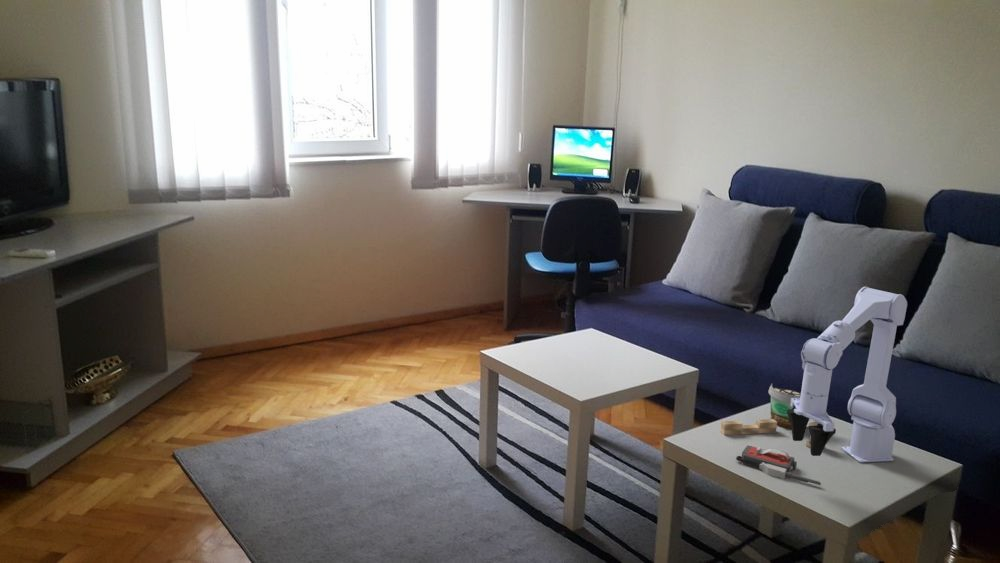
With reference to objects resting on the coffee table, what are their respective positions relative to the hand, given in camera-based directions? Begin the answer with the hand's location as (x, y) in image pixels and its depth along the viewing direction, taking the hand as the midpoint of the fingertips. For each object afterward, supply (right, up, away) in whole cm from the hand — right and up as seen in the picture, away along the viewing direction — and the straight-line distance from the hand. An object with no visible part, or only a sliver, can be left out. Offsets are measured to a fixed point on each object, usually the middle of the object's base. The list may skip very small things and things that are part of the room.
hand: (806, 447), depth 176 cm
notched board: (-3, -2, +31) cm, 31 cm away
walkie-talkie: (-3, -8, +10) cm, 14 cm away
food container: (+8, -2, +36) cm, 37 cm away
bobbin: (+12, -5, +23) cm, 26 cm away
